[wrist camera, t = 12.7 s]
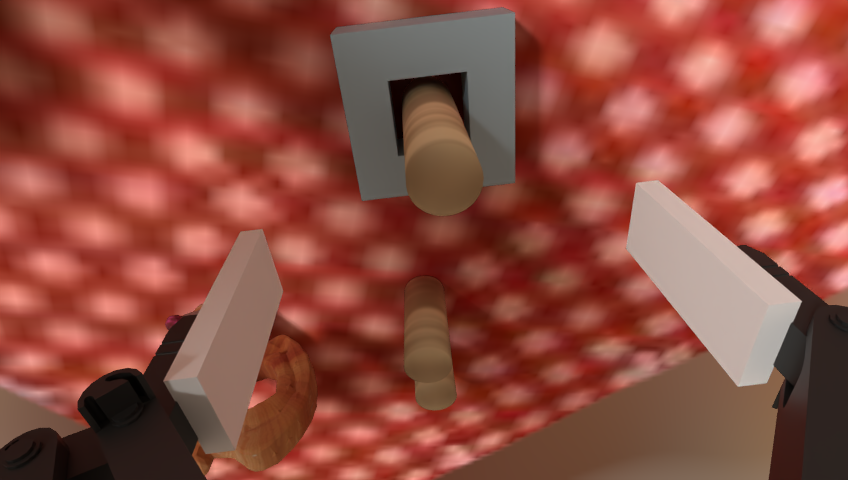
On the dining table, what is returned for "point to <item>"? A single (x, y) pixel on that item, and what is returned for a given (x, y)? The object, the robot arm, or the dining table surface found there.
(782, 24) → the dining table surface
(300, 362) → the mug
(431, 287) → the dowel medium
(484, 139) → the hole block
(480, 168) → the dowel long
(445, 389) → the dowel short
